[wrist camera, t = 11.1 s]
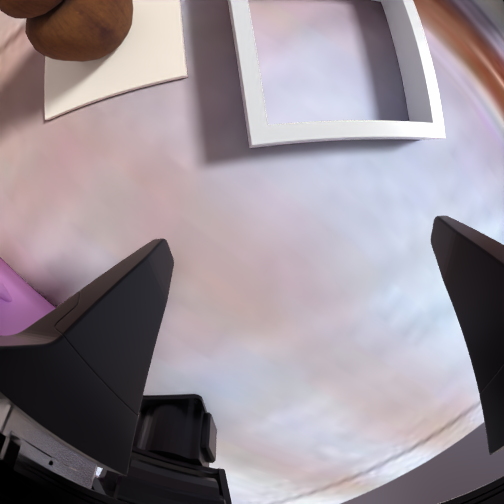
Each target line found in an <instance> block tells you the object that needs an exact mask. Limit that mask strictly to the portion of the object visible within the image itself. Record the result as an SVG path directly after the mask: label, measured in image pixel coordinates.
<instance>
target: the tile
mask: <svg viewBox="0 0 504 504" xmlns="http://www.w3.org/2000/svg"><path fill="white" fill-rule="evenodd" d="M132 1H133V18H132V26H131V28H130V30H129V33H128V35H127V36H126V38H125V39H124V41H123V42H122V44H121V45H120V46H119V47H118V48H116V49H115V50H114V51H113V52H112V53H110V54H108V55H106V56H104V57H102V58H101V59H97V60H91V61H84V62H78V61H62V60H55V59H51V58H49V57H47V56H45V74H44V106H45V120H50V119H53V118H55V117H57V116H60V115H62V114H65V113H67V112H70V111H72V110H75V109H77V108H80V107H83V106H85V105H88V104H91V103H94V102H97V101H100V100H103V99H106V98H109V97H112V96H115V95H118V94H122V93H125V92H128V91H132V90H136V89H139V88H143V87H147V86H151V85H155V84H159V83H163V82H168V81H172V80H177V79H182V78H187V77H188V75H187V66H186V57H185V47H184V37H183V26H182V14H181V2H180V0H132Z"/></svg>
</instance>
